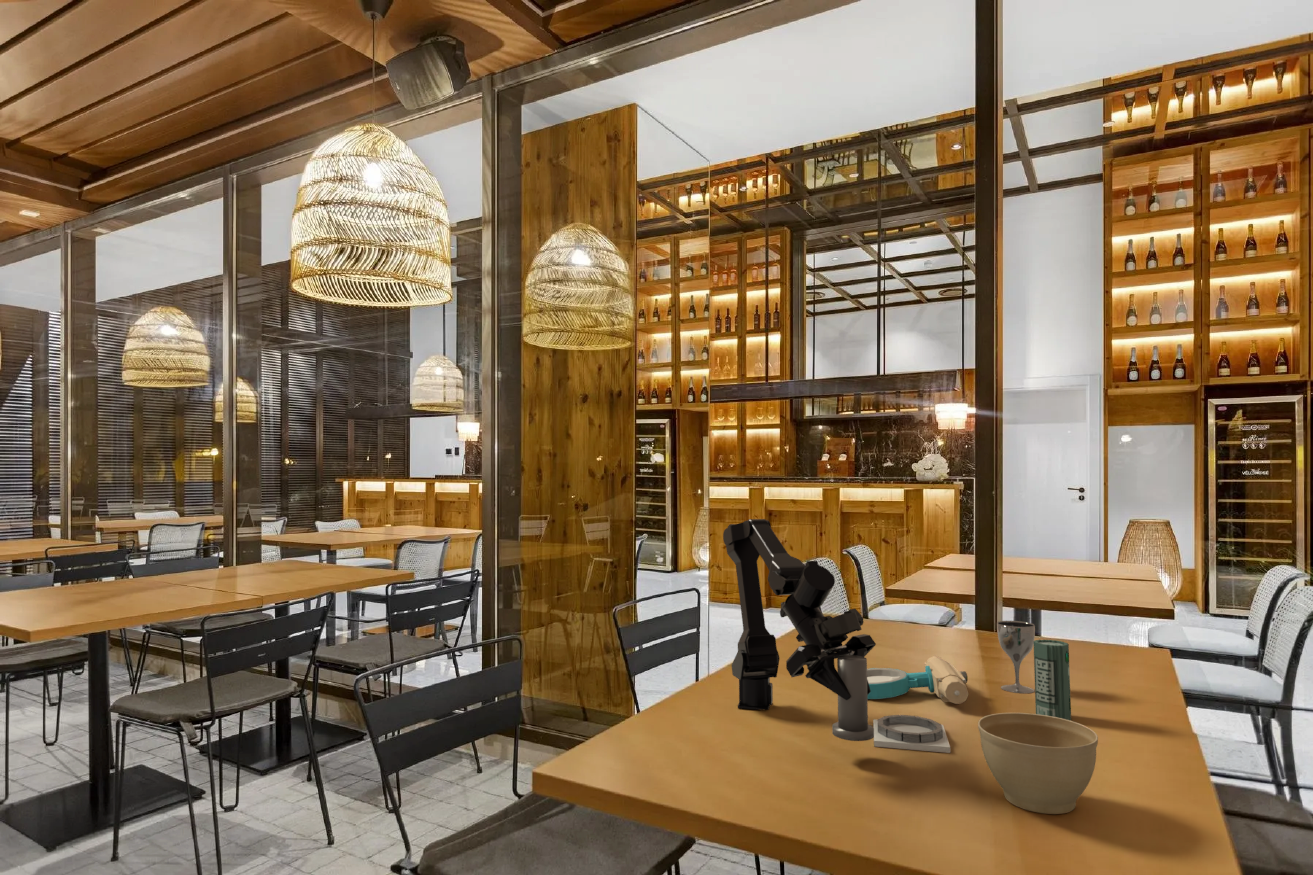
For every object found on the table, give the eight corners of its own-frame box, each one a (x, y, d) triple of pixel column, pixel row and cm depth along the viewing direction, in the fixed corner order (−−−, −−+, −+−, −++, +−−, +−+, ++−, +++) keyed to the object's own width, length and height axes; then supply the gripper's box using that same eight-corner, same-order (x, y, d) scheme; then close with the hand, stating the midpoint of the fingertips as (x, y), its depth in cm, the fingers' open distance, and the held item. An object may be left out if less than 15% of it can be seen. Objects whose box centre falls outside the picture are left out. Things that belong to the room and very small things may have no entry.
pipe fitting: (831, 738, 129) (830, 661, 130) (833, 726, 136) (832, 652, 137) (874, 742, 127) (872, 664, 128) (873, 729, 134) (872, 655, 135)
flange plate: (874, 746, 138) (873, 732, 138) (873, 724, 150) (873, 711, 150) (950, 752, 134) (950, 738, 134) (943, 729, 147) (942, 716, 147)
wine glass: (999, 691, 174) (997, 625, 174) (998, 683, 181) (996, 619, 182) (1038, 695, 171) (1036, 627, 172) (1035, 686, 178) (1033, 621, 179)
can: (1076, 718, 154) (1073, 643, 155) (1059, 723, 151) (1056, 647, 152) (1048, 710, 159) (1045, 638, 160) (1030, 715, 156) (1028, 641, 157)
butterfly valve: (835, 720, 162) (983, 712, 156) (831, 687, 162) (978, 678, 157) (831, 687, 188) (958, 679, 182) (828, 659, 189) (954, 650, 183)
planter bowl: (997, 773, 125) (995, 705, 126) (1109, 798, 115) (1106, 725, 115) (965, 804, 113) (963, 730, 113) (1088, 837, 102) (1085, 754, 103)
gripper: (797, 599, 131) (849, 677, 121) (866, 590, 142) (919, 661, 132) (765, 638, 137) (812, 715, 127) (834, 626, 148) (882, 696, 138)
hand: (858, 696), depth 131 cm, fingers closed on pipe fitting, 5 cm apart
